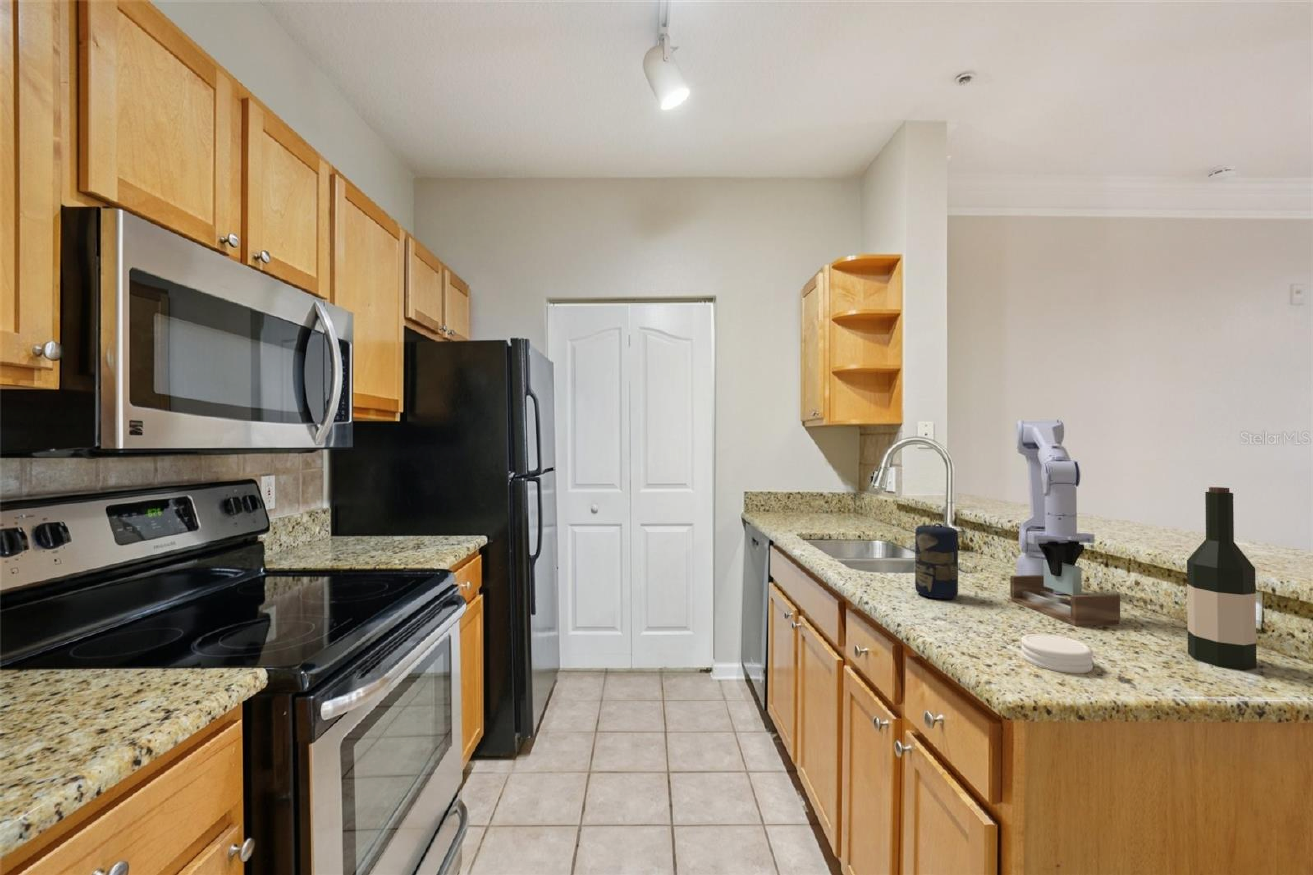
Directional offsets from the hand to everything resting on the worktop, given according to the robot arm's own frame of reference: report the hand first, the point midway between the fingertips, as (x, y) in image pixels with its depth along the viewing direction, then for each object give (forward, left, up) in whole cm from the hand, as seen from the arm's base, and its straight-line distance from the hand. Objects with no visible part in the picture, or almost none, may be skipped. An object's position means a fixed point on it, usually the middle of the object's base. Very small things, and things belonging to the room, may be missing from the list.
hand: (1061, 575), depth 123 cm
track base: (0, 0, -8) cm, 8 cm away
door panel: (0, 0, -3) cm, 3 cm away
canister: (-15, -20, -8) cm, 26 cm away
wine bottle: (+28, +5, -8) cm, 30 cm away
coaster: (+26, -24, -9) cm, 36 cm away
